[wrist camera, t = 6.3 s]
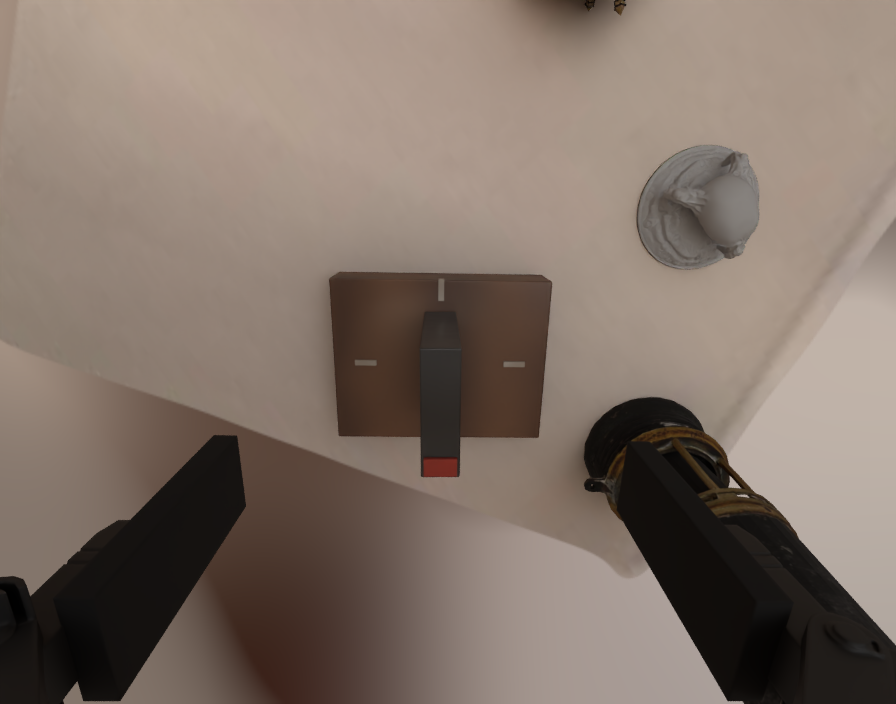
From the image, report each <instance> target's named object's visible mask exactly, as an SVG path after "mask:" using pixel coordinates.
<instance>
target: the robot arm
mask: <svg viewBox="0 0 896 704" xmlns="http://www.w3.org/2000/svg"><path fill="white" fill-rule="evenodd" d="M245 507H246V502H245V495H244V486H243V478H242V471H241V463H240V455H239V447H238V439H237V436H225V435H214V436H213V437H212V438H211V439H210V440H209V441H208V442H207V443H206V444H205V445H204V446H203V447H202V448H201V449H200V450H199V451H198V452H197V453H196V454H195V455H194V456H193V457H192V458H191V459H190V460H189V461H188V462H187V463H186V464H185V465H184V466H183V467H182V468H181V469H180V470H179V471H178V472H177V473H176V474H175V475H174V476H173V477H172V478H171V479H170V480H169V481H168V482H167V483H166V484H165V485H164V486H163V487H162V488H161V489H160V490H159V491H158V493H156V494H155V495H154V496H153V497H152V499H150V501H149V502H148V503H147V504H146V505H145V506H144V507H143V508H142V509H141V510H140V511H139V512H138V513H137V514H136V515H135V516H134V517H133V518H132V519H131V520H118V521H116V522H115V523H113V524H111V525H110V526H108V527H106V528H105V529H103V530H101V531H100V532H98V533H97V534H96V535H94V536H93V537H92V538H91V539H90V540H89V541H88V542H87V543H86V544H85V545H84V546H83V547H82V548H81V550H80V552H77V553H76V554H75V555H73V556H72V557H71V558H70V559H69V560H68V562H67V564H64V565H63V566H62V567H61V568H60V569H59V570H58V571H57V572H56V573H55V574H53V575H52V576H51V577H50V578H49V579H48V580H47V581H46V582H45V583H44V584H43V585H42V586H41V587H40V588H39V589H38V590H37V591H36V592H35V593H34V594H33V595H31V596H30V595H29V592H28V588H27V585H26V584H25V582H24V580H23V579H21V578H18V577H14V576H10V577H0V704H64V702H63V699H64V698H65V696H66V695H67V694H68V692H69V691H70V690H71V688H72V687H73V686H74V684H75V683H76V682H77V681H78V684H79V688H80V691H81V695H82V698H83V701H121V699H122V697H123V696H124V694H125V693H126V691H127V690H128V688H129V687H130V685H131V684H132V682H133V680H134V679H135V677H136V676H137V674H138V672H139V671H140V670H141V668H142V667H143V665H144V663H145V662H146V660H147V659H148V657H149V656H150V654H151V653H152V651H153V650H154V648H155V646H156V645H157V643H158V642H159V640H160V639H161V637H162V636H163V634H164V632H165V631H166V629H167V628H168V626H169V625H170V623H171V622H172V620H173V618H174V617H175V615H176V614H177V612H178V611H179V609H180V608H181V606H182V604H183V603H184V601H185V600H186V598H187V597H188V595H189V594H190V592H191V591H192V589H193V588H194V586H195V584H196V583H197V581H198V580H199V578H200V577H201V575H202V574H203V572H204V570H205V569H206V567H207V566H208V564H209V563H210V561H211V560H212V558H213V557H214V555H215V553H216V551H217V550H218V549H219V547H220V546H221V544H222V543H223V541H224V540H225V538H226V536H227V535H228V533H229V531H230V530H231V529H232V527H233V526H234V524H235V522H236V521H237V519H238V518H239V516H240V515H241V513H242V512H243V510H244V509H245ZM616 510H617V512H618V514H619V515H620V517H621V519H622V520H623V522H624V524H625V526H626V527H627V529H628V531H629V532H630V534H631V536H632V538H633V539H634V541H635V543H636V544H637V546H638V548H639V550H640V551H641V553H642V555H643V556H644V558H645V560H646V562H647V563H648V565H649V567H650V568H651V570H652V572H653V574H654V575H655V577H656V579H657V580H658V582H659V584H660V586H661V587H662V589H663V591H664V592H665V594H666V596H667V598H668V599H669V601H670V603H671V604H672V606H673V608H674V610H675V611H676V613H677V615H678V616H679V618H680V620H681V622H682V623H683V625H684V627H685V628H686V630H687V632H688V633H689V635H690V637H691V639H692V640H693V642H694V644H695V646H696V647H697V649H698V651H699V652H700V654H701V656H702V658H703V659H704V661H705V663H706V664H707V666H708V668H709V670H710V671H711V673H712V675H713V676H714V678H715V680H716V682H717V683H718V685H719V686H720V688H721V690H722V692H723V694H724V695H725V697H726V699H727V700H728V701H762V700H763V697H764V694H765V691H766V687H767V684H768V681H770V683H771V684H772V685H773V687H774V688H775V690H776V691H777V693H778V694H779V695H780V697H781V698H782V699H781V702H780V704H896V650H895V649H891V648H888V647H886V646H885V644H884V643H883V642H882V641H881V640H880V639H879V638H878V637H877V636H876V635H875V634H873V633H872V632H871V631H869V630H868V629H867V628H865V627H864V626H862V625H860V624H859V623H857V622H855V621H853V620H851V619H849V618H847V617H844V616H841V615H838V614H835V613H829V612H827V611H826V610H825V609H824V608H823V607H822V606H821V605H820V604H819V603H818V602H817V601H816V600H815V599H814V597H813V596H812V595H811V594H810V593H809V592H808V591H807V590H806V589H805V588H804V587H803V586H802V585H801V584H800V583H799V582H798V581H797V580H796V579H795V578H794V577H793V576H792V574H791V573H790V572H789V571H788V570H787V569H786V568H783V566H782V564H781V563H780V562H779V561H778V560H777V559H776V558H775V557H774V556H771V553H770V551H769V550H768V549H767V548H766V547H765V546H764V545H763V544H762V543H761V542H760V541H759V540H758V539H757V538H756V537H754V536H753V535H751V534H750V533H748V532H747V531H745V530H744V529H742V528H741V527H739V526H738V525H724V524H723V523H722V522H721V520H720V519H719V518H718V517H717V516H716V515H715V514H714V513H713V512H712V510H711V509H710V508H709V507H708V506H707V505H706V504H705V503H704V502H703V500H702V499H701V498H700V497H699V496H698V495H697V494H696V493H695V491H694V490H693V489H692V488H691V487H690V486H689V485H688V484H687V483H686V481H685V480H684V479H683V478H682V477H681V476H680V475H679V474H678V472H677V471H676V470H675V469H674V468H673V467H672V466H671V465H670V464H669V462H668V461H667V460H666V459H665V458H664V457H663V456H662V455H661V453H660V452H659V451H658V450H657V449H656V448H655V447H654V446H653V445H652V443H651V442H646V441H627V448H626V454H625V460H624V466H623V472H622V478H621V485H620V491H619V497H618V503H617V509H616Z"/></svg>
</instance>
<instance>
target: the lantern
mask: <svg viewBox="0 0 896 704" xmlns="http://www.w3.org/2000/svg"><path fill="white" fill-rule="evenodd" d="M627 441H646V442H651V443H652V445H653V446H654V447H655V448H656V449H657V450H658V451H659V452H660V453H661V455H662V456H663V457H664V458H665V459H666V460H667V461H668V462H669V464H670V465H671V466H672V467H673V468H674V469H675V470H676V471H677V472H678V474H679V475H680V476H681V477H682V478H683V479H684V480H685V481H686V483H687V484H688V485H689V486H690V487H691V488H692V489H693V490H694V491H695V493H696V494H697V495H698V496H699V497H700V498H701V499H702V500H703V502H704V503H705V504H706V505H707V506H708V507H709V508H710V509H711V510H712V512H713V513H714V514H715V515H716V516H717V517H718V518H719V519H720V520H721V522H722V523H723V524H724V525H738V526H739V527H741V528H742V529H744V530H745V531H747V532H748V533H750V534H751V535H753V536H754V537H756V538H757V539H758V540H759V541H760V542H761V543H762V544H763V545H764V546H765V547H766V548H767V549H768V550H769V551H770V553H771V556H774V557H775V558H776V559H777V560H778V561H779V562H780V563H781V564H782V566H783V568H786V569H787V570H788V571H789V572H790V573H791V574H792V576H793V577H794V578H795V579H796V580H797V581H798V582H799V583H800V584H801V585H802V586H803V587H804V588H805V589H806V590H807V591H808V592H809V593H810V594H811V595H812V596H813V597H814V599H815V600H816V601H817V602H818V603H819V604H820V605H821V606H822V607H823V608H824V609H825V610H826V611H827V612H829V613H835V614H838V615H841V616H844V617H847V618H849V619H851V620H853V621H855V622H857V623H859V624H860V625H862V626H864V627H865V628H867V629H868V630H869V631H871V632H872V633H873V634H875V635H876V636H877V637H878V638H879V639H880V640H881V641H882V642H883V643H884V644H885V646H886V647H888V648H891V649H895V650H896V645H895V644H894V643H893V642H892V641H891V640H890V639H889V638H888V636H887V635H886V634H885V633H884V632H883V631H882V630H881V629H880V628H879V627H878V625H877V624H876V623H875V622H874V621H873V620H872V619H871V618H870V617H869V616H868V614H867V613H866V612H865V611H864V610H863V609H862V608H861V607H860V606H859V605H858V603H857V602H856V601H855V600H854V599H853V598H852V597H851V596H850V595H849V593H848V592H847V591H846V590H845V589H844V588H843V587H842V586H841V585H840V584H839V583H838V581H837V580H836V579H835V578H834V577H833V576H832V575H831V574H830V573H829V572H828V570H827V569H826V568H825V567H824V566H823V565H822V564H821V563H820V562H819V561H818V559H817V558H816V557H815V556H814V555H813V554H812V553H811V552H810V551H809V550H808V548H807V547H806V546H805V545H804V544H803V543H802V542H801V541H800V540H799V538H798V536H797V533H796V532H795V530H794V529H793V528H792V527H791V525H790V523H789V522H788V521H787V520H786V518H785V517H784V516H783V515H782V514H781V513H780V512H779V511H778V510H777V509H776V508H775V507H774V505H773V504H771V503H770V502H769V501H768V500H767V499H765V498H764V497H763V496H761V495H758V494H756V493H755V492H754V491H753V490H752V489H751V488H750V487H749V486H748V485H747V484H746V483H745V482H744V480H742V478H741V477H740V476H739V475H738V474H737V473H736V472H735V471H734V470H733V469H732V468H731V467H730V466H729V463H728V459H727V455H726V453H725V451H724V450H723V448H722V447H721V446H720V445H719V444H718V443H717V442H716V440H714V439H713V438H712V437H710V436H709V435H707V434H705V432H704V430H703V428H702V425H701V423H700V422H699V420H698V419H697V418H696V417H695V416H694V414H693V413H692V412H690V411H689V410H688V409H686V408H685V407H683V406H681V405H679V404H677V403H676V402H674V401H671V400H666V399H662V398H641V399H634V400H630V401H628V402H625V403H623V404H621V405H618V406H616V407H614V408H613V409H611V410H610V411H609V412H607V413H606V414H605V415H604V416H603V417H602V418H601V419H600V420H599V421H598V422H597V423H596V424H595V425H594V427H593V428H592V430H591V432H590V435H589V437H588V439H587V441H586V443H585V454H584V460H585V465H586V467H587V469H588V472H589V474H590V476H591V478H590V479H587V480H586V481H585V483H584V487H585V490H588V491H591V492H602V493H605V495H606V497H607V500H608V503H609V505H610V508H611V510H612V511H613V512H614V513H615V514H616V515H617V517H618V518H619V519H620V520H622V519H621V517H620V515H619V514H618V512H617V510H616V509H617V503H618V497H619V491H620V485H621V478H622V472H623V466H624V460H625V454H626V448H627ZM729 475H730V476H731V477H732V478H733V479H734V480H735V481H736V483H737V484H738V485H739V486H740V487H741V488H742V489H739V488H728V486H729V482H730V478H729ZM591 484H593V486H591ZM741 494H742V495H743V494H746V495H748V496H749V498H747V497H738V496H737V495H741ZM622 521H623V520H622ZM781 699H782V698H781V697H780V695H779V694H778V693H777V691H776V690H775V688H774V687H773V685H772V684H771V683H770V681H768V684H767V687H766V691H765V694H764V697H763V700H762V701H743V702H744V704H780V702H781Z"/></svg>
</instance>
